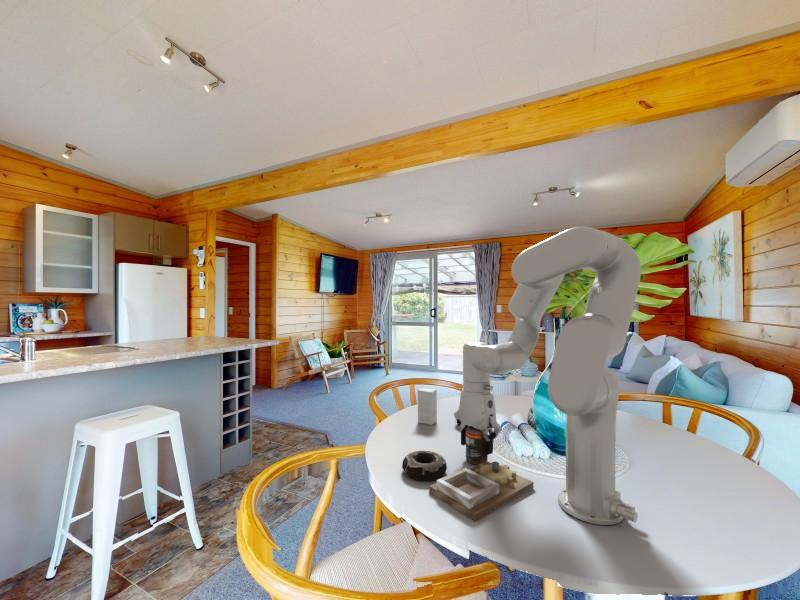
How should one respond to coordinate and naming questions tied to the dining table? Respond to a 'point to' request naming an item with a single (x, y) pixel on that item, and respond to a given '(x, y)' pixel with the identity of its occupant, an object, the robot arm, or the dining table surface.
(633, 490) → the dining table surface
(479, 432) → the supplement bottle
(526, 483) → the gear board
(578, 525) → the dining table surface
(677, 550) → the dining table surface
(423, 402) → the skincare box
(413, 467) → the donut
